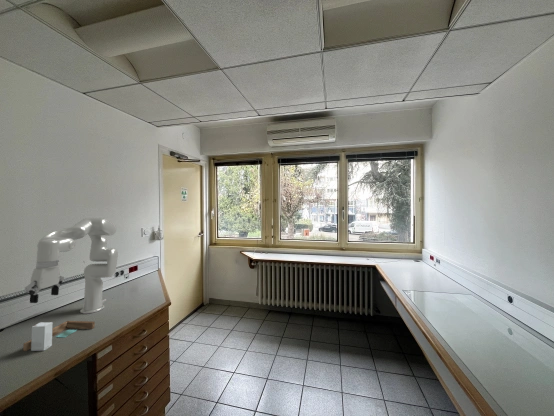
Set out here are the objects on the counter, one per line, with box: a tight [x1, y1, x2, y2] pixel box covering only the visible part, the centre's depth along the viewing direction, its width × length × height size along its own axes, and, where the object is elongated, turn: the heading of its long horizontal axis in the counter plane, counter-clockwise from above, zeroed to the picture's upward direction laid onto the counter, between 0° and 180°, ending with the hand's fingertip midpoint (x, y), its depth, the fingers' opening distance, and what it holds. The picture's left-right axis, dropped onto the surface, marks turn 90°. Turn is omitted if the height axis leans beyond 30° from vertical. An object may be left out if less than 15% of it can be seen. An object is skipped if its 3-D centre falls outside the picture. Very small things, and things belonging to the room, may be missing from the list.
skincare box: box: [30, 321, 54, 352], centre depth 105 cm, size 6×4×12 cm
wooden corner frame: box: [22, 320, 96, 352], centre depth 114 cm, size 22×16×4 cm
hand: (44, 298), depth 106 cm, fingers open, 9 cm apart
